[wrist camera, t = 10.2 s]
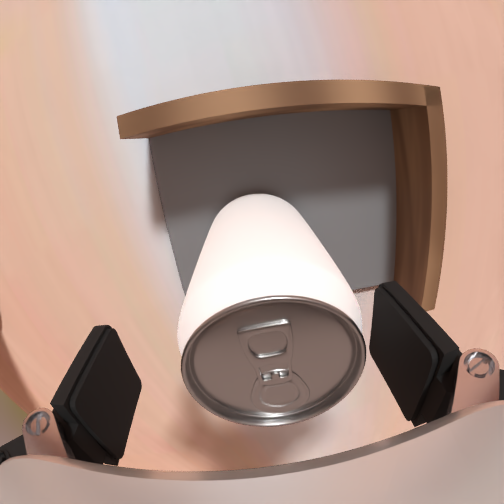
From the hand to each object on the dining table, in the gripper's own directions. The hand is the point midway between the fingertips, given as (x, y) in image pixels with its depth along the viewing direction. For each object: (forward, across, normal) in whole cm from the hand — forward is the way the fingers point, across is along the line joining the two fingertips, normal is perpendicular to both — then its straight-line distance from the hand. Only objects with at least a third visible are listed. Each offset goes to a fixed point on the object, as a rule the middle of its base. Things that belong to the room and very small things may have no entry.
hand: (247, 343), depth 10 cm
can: (+10, -1, 0) cm, 11 cm away
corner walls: (+11, -4, -2) cm, 12 cm away
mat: (+11, -4, -2) cm, 12 cm away
